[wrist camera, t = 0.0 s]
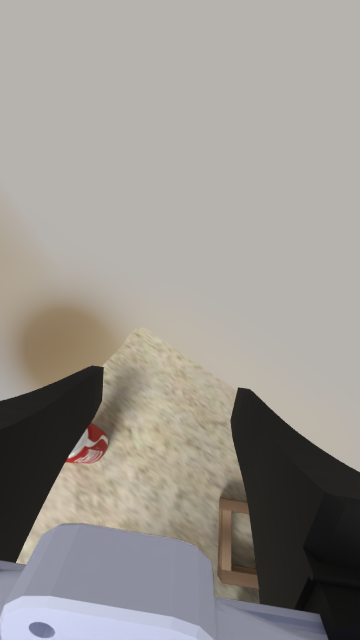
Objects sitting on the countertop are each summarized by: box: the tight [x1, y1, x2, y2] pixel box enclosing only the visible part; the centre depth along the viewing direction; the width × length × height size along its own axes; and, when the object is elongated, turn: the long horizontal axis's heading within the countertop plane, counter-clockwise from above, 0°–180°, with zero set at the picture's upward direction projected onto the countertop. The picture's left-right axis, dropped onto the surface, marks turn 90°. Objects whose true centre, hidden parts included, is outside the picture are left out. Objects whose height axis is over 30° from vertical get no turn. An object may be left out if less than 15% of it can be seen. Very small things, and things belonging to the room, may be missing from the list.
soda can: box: [66, 423, 108, 463], centre depth 33 cm, size 5×5×12 cm
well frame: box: [218, 498, 259, 589], centre depth 32 cm, size 8×8×2 cm
